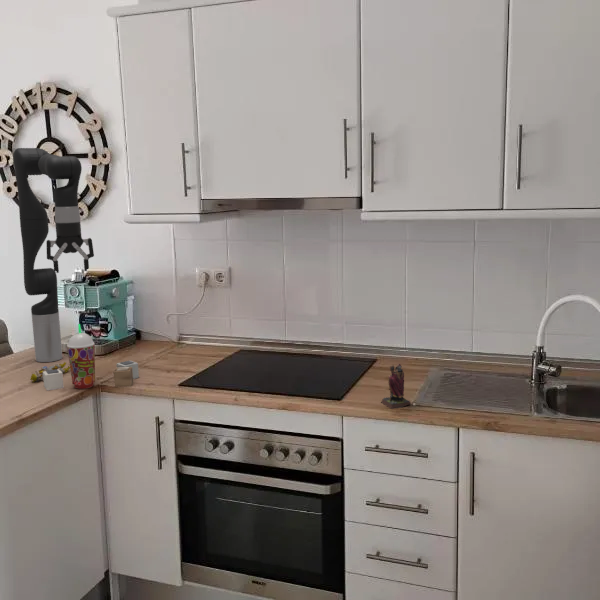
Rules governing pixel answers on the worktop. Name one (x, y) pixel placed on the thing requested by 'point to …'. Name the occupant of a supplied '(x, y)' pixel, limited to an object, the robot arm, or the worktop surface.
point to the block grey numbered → (130, 364)
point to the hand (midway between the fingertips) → (71, 271)
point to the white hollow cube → (53, 379)
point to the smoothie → (82, 359)
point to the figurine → (396, 389)
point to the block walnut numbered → (123, 376)
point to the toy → (40, 371)
